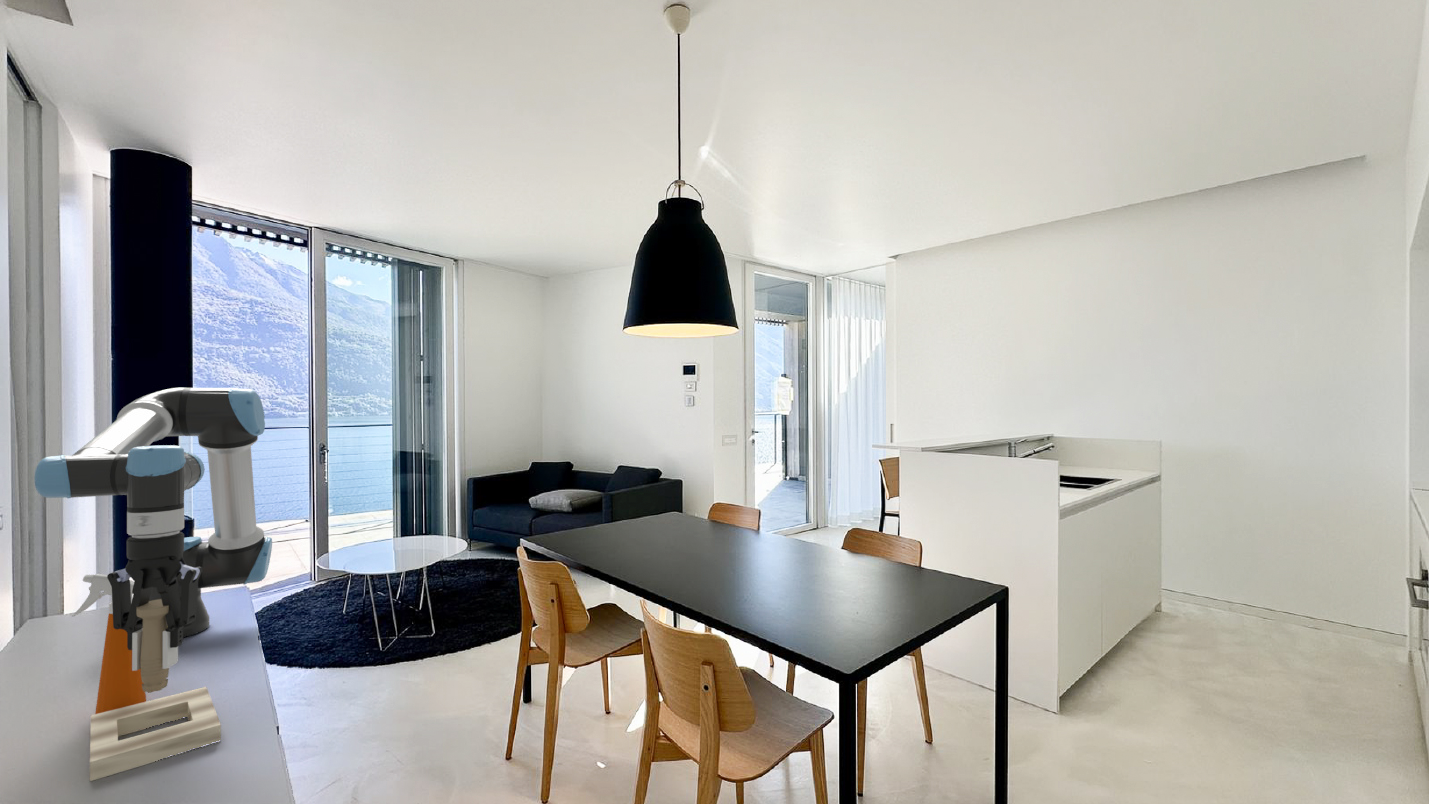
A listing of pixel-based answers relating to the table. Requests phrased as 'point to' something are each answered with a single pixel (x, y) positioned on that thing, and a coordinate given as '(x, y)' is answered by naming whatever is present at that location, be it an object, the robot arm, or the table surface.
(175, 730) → the board
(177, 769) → the table surface
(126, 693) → the spray bottle
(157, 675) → the handle
